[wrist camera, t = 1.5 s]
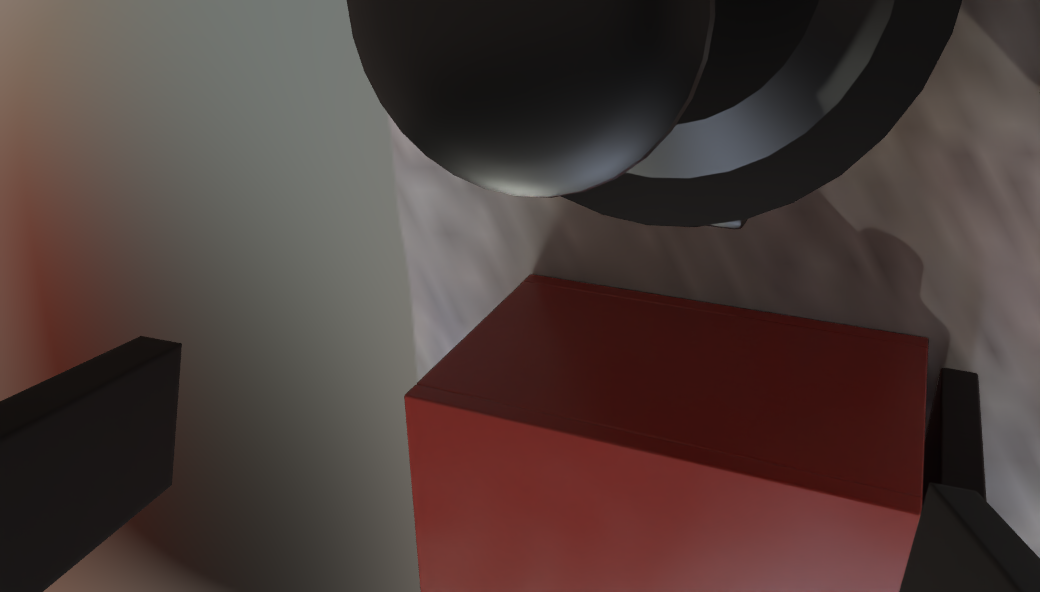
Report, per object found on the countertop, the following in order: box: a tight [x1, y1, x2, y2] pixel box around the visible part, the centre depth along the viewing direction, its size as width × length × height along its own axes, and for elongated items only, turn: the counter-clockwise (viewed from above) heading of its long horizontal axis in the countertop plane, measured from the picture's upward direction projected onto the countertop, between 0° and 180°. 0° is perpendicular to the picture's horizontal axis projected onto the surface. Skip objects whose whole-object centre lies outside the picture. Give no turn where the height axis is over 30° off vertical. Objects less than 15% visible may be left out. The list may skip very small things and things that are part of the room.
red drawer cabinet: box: [404, 274, 929, 592], centre depth 33 cm, size 16×14×11 cm
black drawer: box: [922, 368, 986, 508], centre depth 31 cm, size 19×12×9 cm, turn 92°
